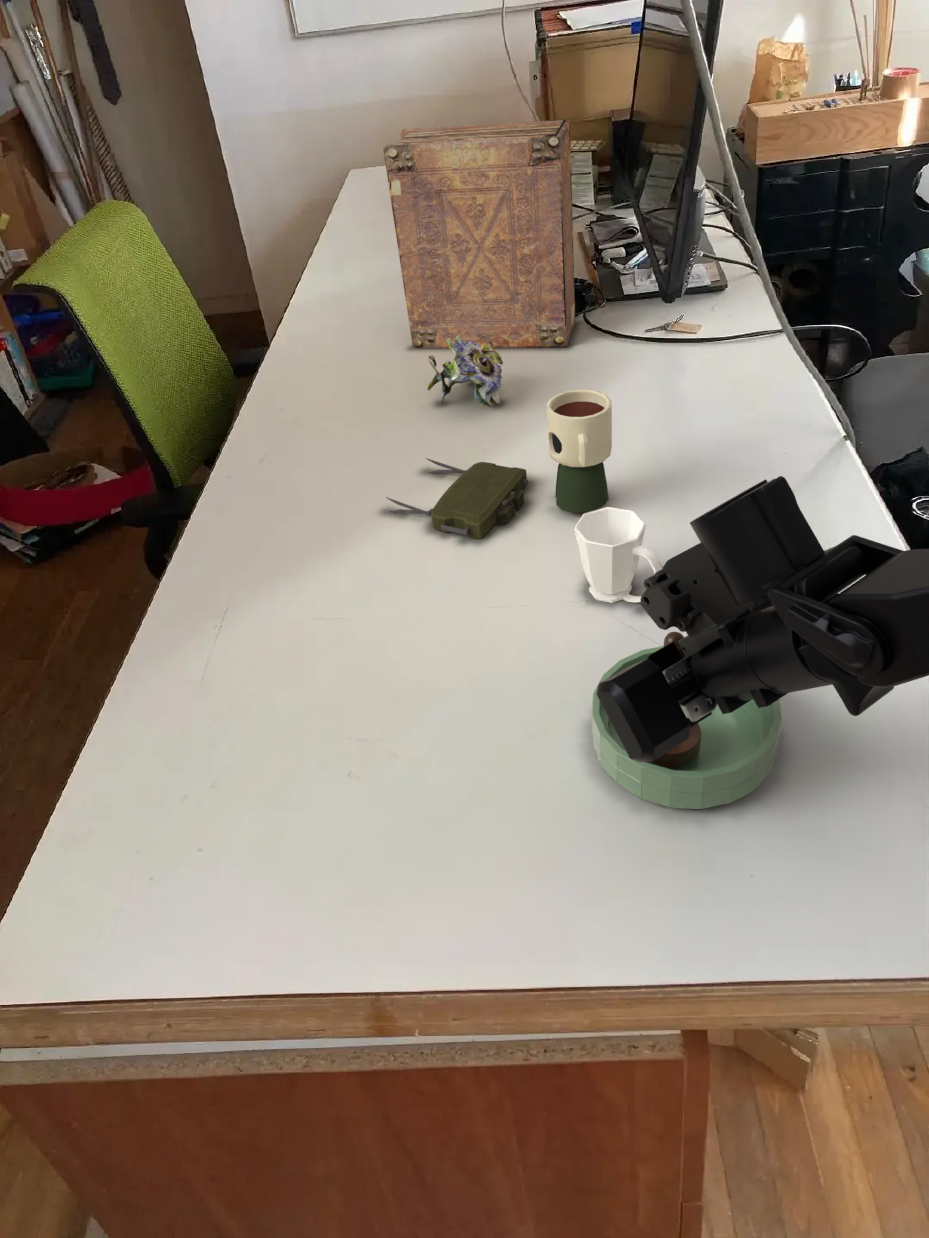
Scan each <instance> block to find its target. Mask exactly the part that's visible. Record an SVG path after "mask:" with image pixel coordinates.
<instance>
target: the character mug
mask: <svg viewBox="0 0 929 1238" xmlns="http://www.w3.org/2000/svg"><path fill="white" fill-rule="evenodd" d="M612 405H613V404H612V399H611V398H610V397H609V395H607V394H605V393H603V392H601V391H599V390H595V389H587V388H586V389H585V388H584V389H583V388H582V389H571V390H566V391H563V392H561V393H558V394H556V395H553V397H551V398H550V399H549V400H548V401H547V403H546V422H547V441H548V442H547V443H548V453H549V456H550V459H552V460H553V461H554V462H556V463H558V465H557V472H556V481H555V495H554V497H555V505H556V507H558V509H560V510H561V511H563V512H567V513H570V514H580V513H588V512H591V511H595V510H598V509H601V508H603V507H605V506H606V505H607V503H608V502H609V500H610V497H609V488H608V482H607V476H606V471H605V464H604V462H606V461H607V459H608V458H609V457H611V454H612V447H613V423H612V422H613V419H612V418H613V415H612V414H613V413H612V411H613V410H612V409H613V406H612Z"/></svg>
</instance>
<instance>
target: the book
mask: <svg viewBox="0 0 929 1238" xmlns="http://www.w3.org/2000/svg"><path fill="white" fill-rule="evenodd" d="M571 140H572V139H571V121H570V120H569V119H565V118H564V119H552V120H550V119H549V120H533V121H519V122H501V123H500V122H499V123H485V124H467V125H466V124H465V125H451V126H449V125H448V126H433V127H416V128H404V129H402V130H401V131H400V140H398V142H396V144H395V143H393V144H385V145H384V146H383V156H384V157H383V158H384V163H385V169H386V177H387V183H388V184H387V185H388V190H389V198H390V204H391V210H392V217H393V223H394V230H395V231H394V232H395V236H396V245H397V250H398V257H399V258H398V259H399V265H400V271H401V277H402V284H403V290H404V297H405V304H406V311H407V317H408V324H409V330H410V337H411V338H410V339H411V344H412V347H413V348H414V349H450V348H449V346H448V344H447V342H446V338H450V339H451V341H452V342H455V343H456V341H455V340H456V337H457V336H458V335H460V339H461V340H462V341H463V342H465V341H466V342H468V343H469V341H471V340H472V342H473V344H477V343H478V344H479V345H480V346H482V344H483V343H485V344H486V345H488V341H491V342H492V345H493V347H494V349H497V348H505V349H506V348H507V349H509V348H566V347H567V345H568V343H569V340H570V337H571V334H572V331H573V329H574V326H575V323H576V300H575V298H576V297H575V296H576V295H575V263H574V262H575V258H574V257H575V256H574V224H573V223H574V221H573V220H574V218H573V217H574V216H573V184H572V145H571V144H572V143H571Z"/></svg>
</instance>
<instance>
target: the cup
mask: <svg viewBox="0 0 929 1238" xmlns="http://www.w3.org/2000/svg"><path fill="white" fill-rule="evenodd" d="M646 527H647V524H646V523H645V521H644V520H642V518H641V517H640V516H639V515H638V514H637V513H636V512H635V511H634V510H631V509H624V508H618V507H611V506H606V507H605V506H604V507H601V508H598V509H596V510H591V511H587V512H584V513H583V514H582V515H581V517H580V519H579V520H578V522H577V523H576V525H575V527H574V528H573V529H574V533H575V539H576V542H577V547H578V551H579V557H580V561H581V566H582V569H583V572H584V574H585V578H586V580H587V583H588V584H589V587H588V591H589V593H590V594H591V596H593V598H594V599H595V600H596V601H599V602H606V603H610V604H614V603H615V602H620V601H622V600H623V601H625V602H627V603H641V601H640V600H641V596H642V595H632V594H630V592H631V591H632V589H633V586H632V582H633V580H634V577H635V574H636V572H637V568H638V565H639V561H640V557H643V558H644V559H646V560H647V561H648V563H649V566H651V568H652V570H653V575H654V574H655V573H656V572H658V571H660V570H662V566H661V564H660V562H659V560H658V558H657V556H656V555H655V554H654V553H653V552H652V551H651V550H650V549H648V548H646V547H645V546H643V541H644V536H645V531H646Z"/></svg>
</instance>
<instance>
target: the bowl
mask: <svg viewBox="0 0 929 1238" xmlns="http://www.w3.org/2000/svg"><path fill="white" fill-rule="evenodd" d="M663 647H664V645H662V646H656V647H650V648H646V649H642V650H639V651H637V652H635V653H632V654H630V655H628V656H626V657H624V658H621V659H620V660H618V661H617V662H616V663H615V664H614V665H613V666H611V667H610V668H609V669H608V670H607V671H606V672H604V674H603V675H602V676H601V678H600V680H599V682H598V684H597V685H596V688H594V689H595V690H594V691H593V693H592V706H591V707H592V709H591V717H592V718H591V721H592V723H591V724H592V725H591V727H592V746H593V748H594V752H595V754H596V756H597V757H596V758H597V760H598V762H599V765H600V766H601V768H602V769H603V770H604V771H605V772H606V774H608V776H609V777H610V778H611V779H612V780H613V781H614V782H615V783H616V784H617V785H618V786H620V787H621V788H623V789H625V790H626V791H628V792H629V793H631V794H633V795H634V796H636V797H637V798H639V799H641V800H644V801H647V802H650V803H654V804H657V805H661V806H664V807H667V808H671V809H691V810H705V809H708V808H713V807H718V806H722V805H727V804H731V803H734V802H736V801H737V800H739V799H741V798H743V797H745V796H746V795H749V794H751V793H752V792H754V791H755V790H756V789H757V788H759V786H760V785H761V783H762V782H763V781H765V779H766V778H767V777H768V776H769V774H770V773H772V769H773V766H774V764H775V763H774V762H775V760H776V756H777V753H778V748H779V742H780V735H781V730H782V724H783V723H782V722H783V714H782V710H781V709H782V708H781V704H780V703H781V702H780V699H778V700H777V701H775V702H774V703H772V704H771V705H769V706H767V707H761V708H758V707H757V705H756V703H755V701H754V700H750V701H749V702H747V703H746V704H744V705H743V706H741V707H739V708H738V709H736V710H735V711H733V712H731V713H727V714H722V712H721V710H720V708H719V706H718V704H717V707H716V709H715V710H713V711H712V712H711V713H712V715H710V716H708V717H707V718H705V719H704V720H702V721H700V722H699V723H698V724H699V726H700V729H701V743H700V751H699V754H698V756H697V757H696V758H695V759H694V760H693V761H692V762H691V763H689V764H687V765H684V766H681V767H675V768H668V767H662V766H659V765H656V764H654V763H652V762H650V761H646V762H638V761H635V760H632V759H630V757H629V756H628V754H627V752H626V750H625V748H624V746H623V744H622V742H621V740H620V738H619V736H618V735H617V733H616V731H615V729H614V727H613V725H612V723H611V721H610V719H609V717H608V715H607V714H606V712H605V710H604V708H603V706H602V704H601V702H600V700H599V698H598V696H597V689H598V685H599V683H601V682H602V681H604V680H606V679H608V678H609V677H611V676H613V675H615V674H616V673H618V672H620V671H622V670H623V669H625V668H627V667H629V666H631V665H633V664H635V663H637V662H640V661H642V660H646V659H647V658H648V656H649V655H651V654H652V653H654V652H656V651H658V650H659V649H661V648H663Z"/></svg>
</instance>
